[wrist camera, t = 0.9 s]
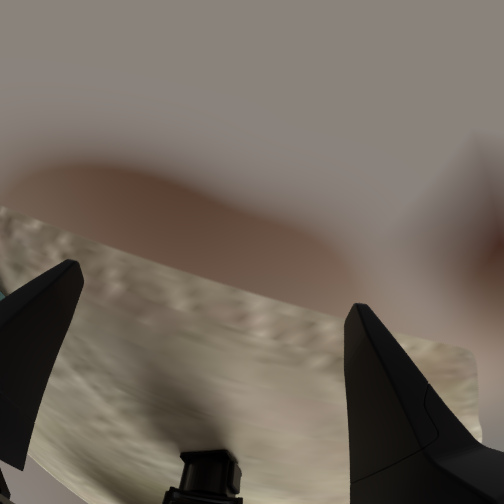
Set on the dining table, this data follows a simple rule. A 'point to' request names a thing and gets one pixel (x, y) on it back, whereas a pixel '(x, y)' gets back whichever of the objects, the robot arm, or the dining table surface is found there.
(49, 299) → the robot arm
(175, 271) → the dining table surface
